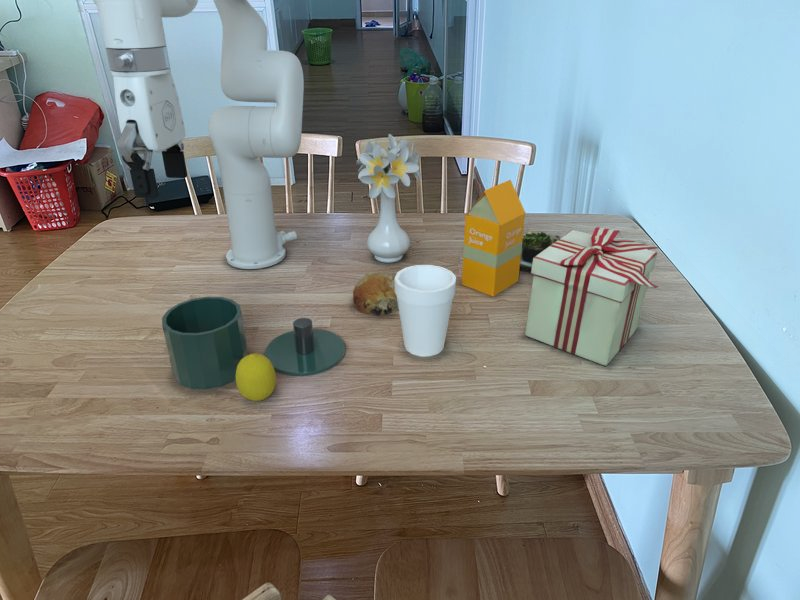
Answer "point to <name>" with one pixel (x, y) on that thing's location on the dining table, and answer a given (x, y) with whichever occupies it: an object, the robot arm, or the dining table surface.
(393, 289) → the bread roll
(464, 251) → the orange juice
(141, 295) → the dining table surface
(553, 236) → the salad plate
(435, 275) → the foam cup
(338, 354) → the lid
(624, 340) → the gift box
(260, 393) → the lemon
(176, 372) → the pot
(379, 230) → the flower vase
